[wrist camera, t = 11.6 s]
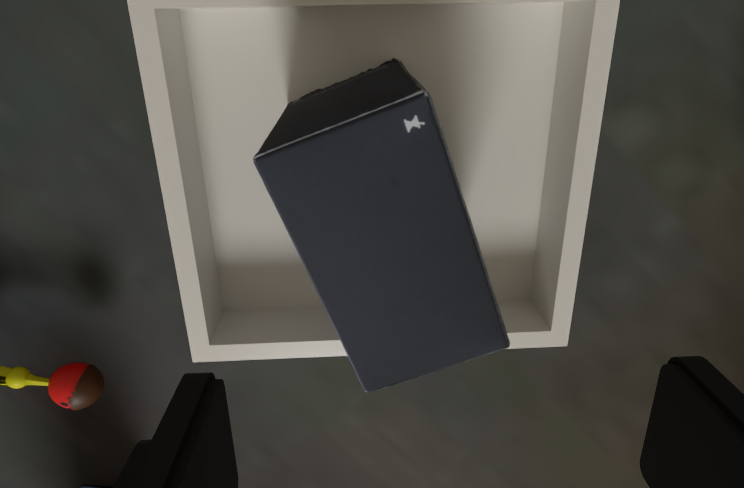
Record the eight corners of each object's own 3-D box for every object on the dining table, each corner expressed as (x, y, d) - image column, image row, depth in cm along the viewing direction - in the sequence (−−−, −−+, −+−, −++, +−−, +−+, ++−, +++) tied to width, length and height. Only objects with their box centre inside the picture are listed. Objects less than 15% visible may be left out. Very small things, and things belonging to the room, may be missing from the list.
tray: (579, -21, 26) (624, -27, 22) (539, 304, 33) (567, 346, 29) (160, -14, 25) (123, -20, 21) (212, 317, 32) (192, 362, 28)
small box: (276, 104, 26) (238, 154, 17) (400, 54, 26) (433, 77, 16) (355, 280, 30) (360, 402, 21) (463, 240, 30) (520, 348, 20)
